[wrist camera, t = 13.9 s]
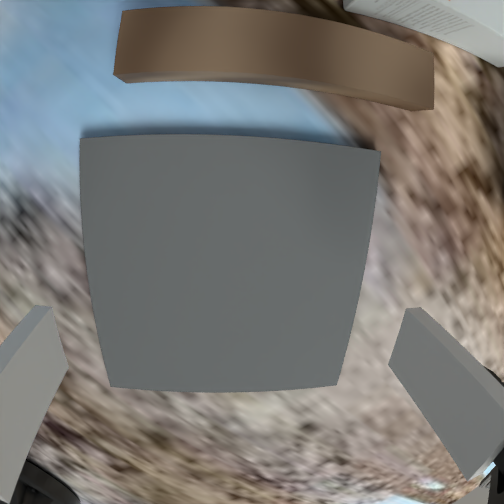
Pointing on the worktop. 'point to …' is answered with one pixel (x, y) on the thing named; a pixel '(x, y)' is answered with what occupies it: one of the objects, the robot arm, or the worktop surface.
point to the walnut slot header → (272, 53)
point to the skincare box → (445, 21)
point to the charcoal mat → (224, 258)
